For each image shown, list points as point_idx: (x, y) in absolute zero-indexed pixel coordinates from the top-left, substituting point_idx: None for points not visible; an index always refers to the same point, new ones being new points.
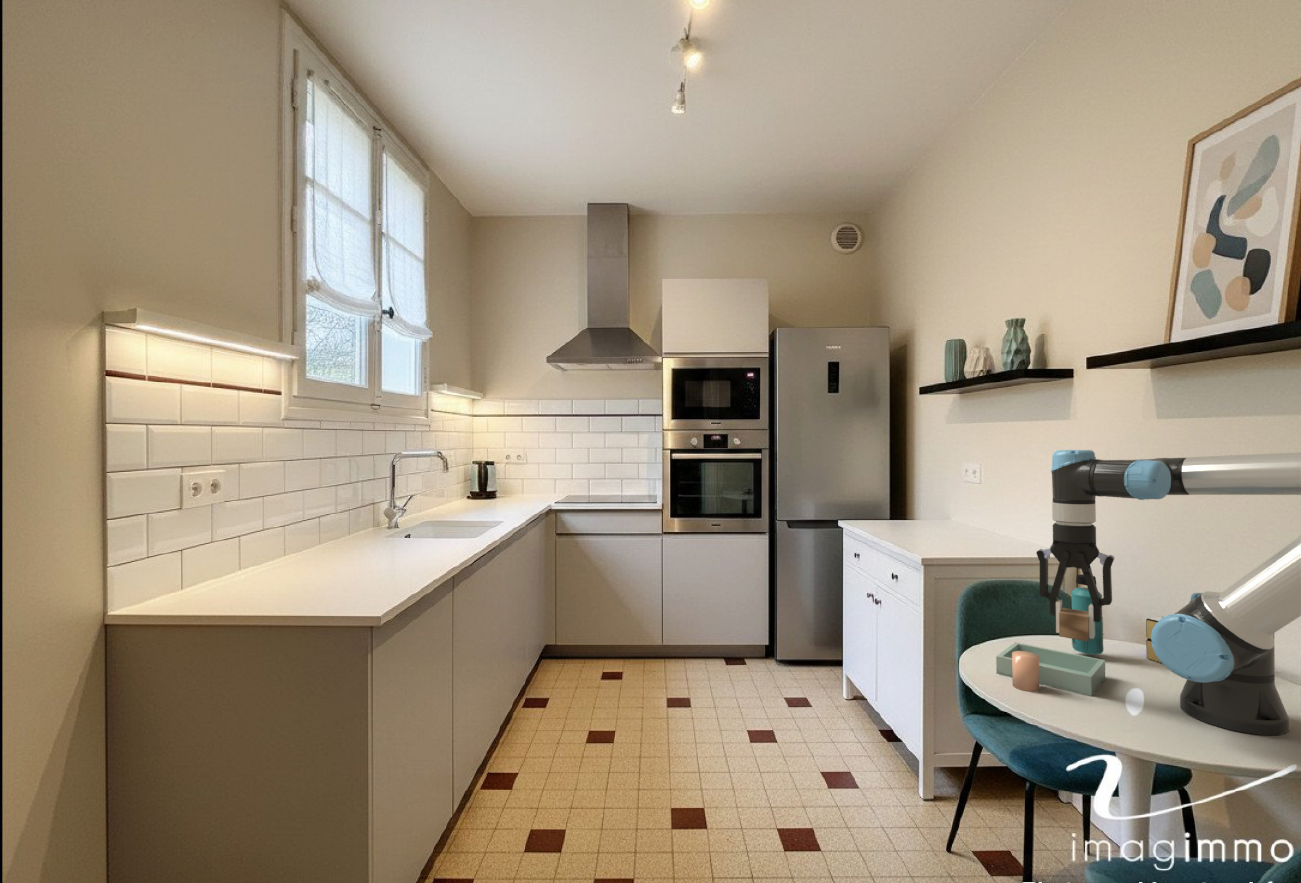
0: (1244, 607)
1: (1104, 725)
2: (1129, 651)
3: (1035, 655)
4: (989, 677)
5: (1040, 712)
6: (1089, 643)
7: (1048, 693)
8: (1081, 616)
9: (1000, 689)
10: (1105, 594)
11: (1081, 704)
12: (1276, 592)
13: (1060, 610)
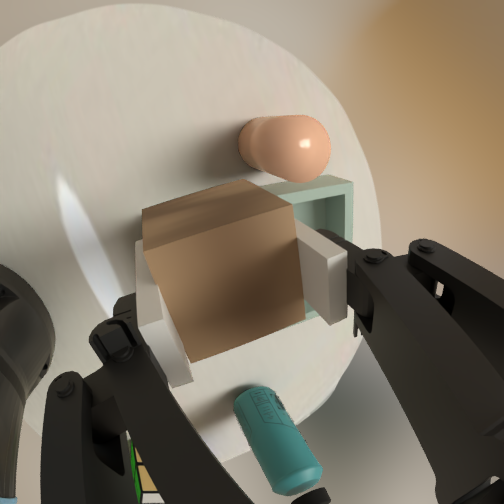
0: None
1: (75, 68)
2: (221, 442)
3: (282, 165)
4: (330, 142)
5: (188, 25)
6: (251, 404)
7: (218, 145)
8: (178, 239)
9: (292, 88)
10: (70, 434)
11: (145, 141)
12: None
13: (300, 252)
